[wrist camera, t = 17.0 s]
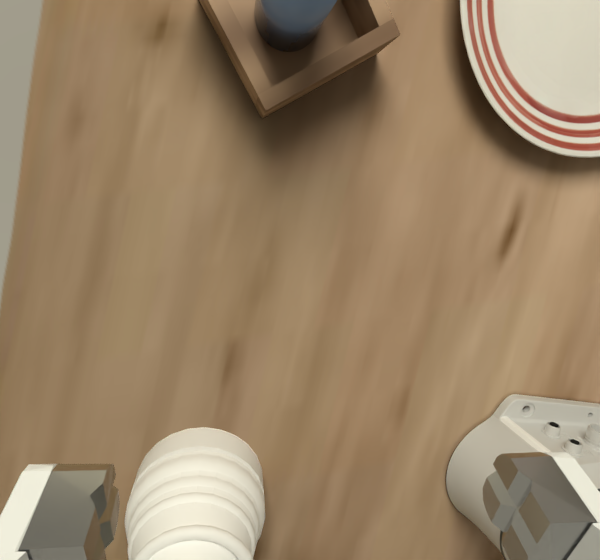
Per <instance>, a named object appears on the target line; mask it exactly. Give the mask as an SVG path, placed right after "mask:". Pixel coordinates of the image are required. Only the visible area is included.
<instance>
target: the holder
mask: <svg viewBox="0 0 600 560" xmlns="http://www.w3.org/2000/svg"><path fill="white" fill-rule="evenodd" d="M199 1H200V3H201V5H202V7H203V9H204V11H205V12H206V14H207V16H208V18H209V20H210V22H211V24H212V26H213V28H214V29H215V31H216V33H217V35H218V37H219V39H220V41H221V43H222V45H223V46H224V48H225V50H226V52H227V54H228V56H229V58H230V60H231V61H232V63H233V65H234V67H235V69H236V71H237V73H238V75H239V77H240V78H241V80H242V82H243V84H244V86H245V88H246V90H247V92H248V93H249V95H250V97H251V99H252V101H253V103H254V105H255V107H256V109H257V110H258V112H259V114H260V116H261V118H262V119H263V118H264V117H266V116H268V115H270V114H271V113H273V112H275V111H277V110H279V109H280V108H282V107H284V106H286V105H287V104H289V103H291V102H293V101H294V100H296V99H298V98H300V97H302V96H303V95H305V94H307V93H309V92H310V91H312V90H314V89H316V88H317V87H319V86H321V85H323V84H325V83H326V82H328V81H330V80H332V79H333V78H335V77H337V76H339V75H340V74H342V73H344V72H346V71H348V70H349V69H351V68H353V67H355V66H356V65H358V64H360V63H362V62H363V61H365V60H367V59H369V58H370V57H372V56H374V55H376V54H377V53H379V52H380V51H381V50H382V49H383V48H385V47H386V46H387V45H388V44H389V43H391V42H392V41H393V40H394V39H396V38H397V37H398V36H399V35H400V33H399V30H398V28H397V25H396V23H395V21H394V18H393V16H392V13H391V11H390V9H389V6H388V4H387V1H386V0H337V2H336V3H335V5H334V6H333V8H332V10H331V11H330V13H329V15H328V16H327V18H326V20H325V21H324V23H323V25H322V26H321V28H320V30H319V31H318V33H317V34H316V36H315V38H314V39H313V40H312V42H311V43H310V44H309V45H307V46H306V47H305V48H303V49H301V50H299V51H295V52H283V51H279V50H277V49H274V48H273V47H271V46H270V45H269V44H267V43H266V42H265V41H264V39H263V38H262V37H261V35H260V34H259V32H258V29H257V27H256V23H255V18H254V9H255V0H199Z"/></svg>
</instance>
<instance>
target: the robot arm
mask: <svg viewBox="0 0 600 560" xmlns="http://www.w3.org/2000/svg"><path fill="white" fill-rule="evenodd" d="M524 406H526V407H525V408H524V409H523V407H524ZM115 476H116V473H115V469H114V464H29V465H28V466H27V467H26V468H25V470H24V471H23V472H22V473H21V475H20V477H19V479H18V481H17V483H16V485H15V487H14V489H13V491H12V493H11V495H10V497H9V499H8V501H7V503H6V505H5V507H4V509H3V511H2V513H1V515H0V560H107V559H106V554H105V548H106V547H107V546H108V545H109V544H110V543H111V542H112V541H113V540H114V536H115V531H116V527H117V522H118V514H119V492H118V489H117V488H116V487H115V486H113V483H114V479H115ZM446 485H447V491H448V495H449V497H450V500H451V502H452V503H453V505H454V506H455V507H456V509H457V510H458V511H459V512H461V513H462V514H463V515H464V516H466V517H467V518H468V519H469V520H470V521H471V522H473V523H474V524H475V525H476V526H477V527H478V528H479V529H480V530H481V531H482V532H483V533H484V534H485V535H486V536H487V537H488V538H489V539H490V541H491V542H492V543H493V544H494V545H495V546H496V547H497V548H498V549H499V551H500V552H501V553H502V555H503V556H504V558H505V560H600V404H597V403H589V402H580V401H571V400H562V399H554V398H545V397H536V396H528V395H519V394H513V395H510V396H508V397H507V398H506V399H505V400H504V401H503V402H502V403H501V404H500V405H499V407H498V408H497V409H496V411H495V412H494V414H493V415H492V416H491V417H490V418H488V419H487V420H486V421H484V422H483V423H481V424H480V425H478V426H477V427H476V428H474V429H473V430H472V431H471V432H470V433H469V434H468V435H466V437H465V438H464V439H463V440H462V441H461V442H460V444H459V445H458V446H457V448H456V450H455V451H454V453H453V455H452V457H451V459H450V462H449V465H448V469H447V475H446Z"/></svg>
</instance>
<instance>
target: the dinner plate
mask: <svg viewBox="0 0 600 560" xmlns="http://www.w3.org/2000/svg"><path fill="white" fill-rule="evenodd" d="M460 15H461V24H462V31H463V38H464V42H465V46H466V50H467V54H468V58H469V61H470V64H471V67H472V70H473V72H474V75H475V77H476V79H477V81H478V84H479V86H480V88H481V89H482V91H483V93H484V95H485V97H486V98H487V100H488V101H489V103H490V104H491V106H492V107H493V109H494V110H495V111H496V113H497V114H498V115H499V116H500V117H501V118H502V119H503V120H504V122H506V123H507V125H508V126H509V127H510V128H511V129H513V130H514V131H515V132H516V133H518V134H519V135H520V136H522V137H523V138H524V139H526V140H527V141H529V142H530V143H532V144H534V145H536V146H538V147H540V148H542V149H544V150H547V151H550V152H553V153H556V154H559V155H564V156H570V157H580V158H594V157H600V0H460Z"/></svg>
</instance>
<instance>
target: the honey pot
mask: <svg viewBox="0 0 600 560" xmlns="http://www.w3.org/2000/svg"><path fill="white" fill-rule="evenodd" d="M264 521H265V502H264V489H263V476H262V468H261V465H260V462H259V460H258V457H257V455H256V454H255V453H254V451H253V450H252V449H251V447H250V446H249V445H248V444H247V443H246V442H244V441H243V440H241V439H240V438H239V437H237V436H236V435H234V434H231V433H228V432H226V431H223V430H221V429H213V428H206V427H202V428H191V429H185V430H182V431H180V432H177V433H174V434H171V435H169V436H168V437H166V438H164V439H163V440H161V441H160V442H158V443H157V444H156V445H155V446H154V447H153V448H152V449H151V450H150V451H149V452H148V453H147V454H146V456H145V458H144V460H143V461H142V463H141V465H140V467H139V470H138V473H137V476H136V479H135V482H134V485H133V488H132V491H131V494H130V498H129V501H128V503H127V509H126V514H125V529H126V536H127V541H128V558H129V560H253V556H254V552H255V549H256V545H257V541H258V539H259V538H260V536H261V532H262V529H263V525H264Z"/></svg>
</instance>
